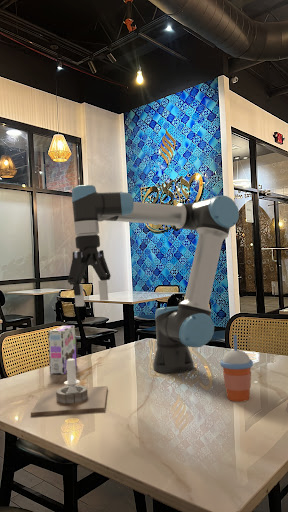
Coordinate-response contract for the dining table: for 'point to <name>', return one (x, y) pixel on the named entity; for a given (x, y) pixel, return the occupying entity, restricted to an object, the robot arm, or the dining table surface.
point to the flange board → (71, 401)
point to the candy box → (61, 348)
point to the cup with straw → (237, 374)
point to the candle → (71, 376)
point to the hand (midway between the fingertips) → (92, 303)
